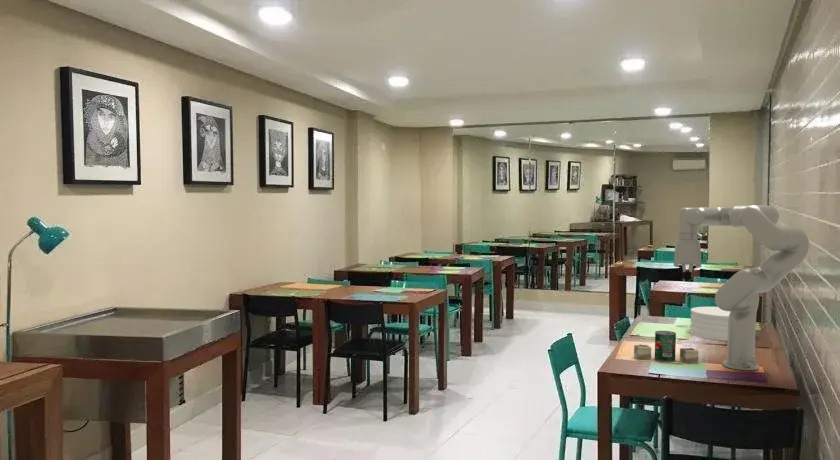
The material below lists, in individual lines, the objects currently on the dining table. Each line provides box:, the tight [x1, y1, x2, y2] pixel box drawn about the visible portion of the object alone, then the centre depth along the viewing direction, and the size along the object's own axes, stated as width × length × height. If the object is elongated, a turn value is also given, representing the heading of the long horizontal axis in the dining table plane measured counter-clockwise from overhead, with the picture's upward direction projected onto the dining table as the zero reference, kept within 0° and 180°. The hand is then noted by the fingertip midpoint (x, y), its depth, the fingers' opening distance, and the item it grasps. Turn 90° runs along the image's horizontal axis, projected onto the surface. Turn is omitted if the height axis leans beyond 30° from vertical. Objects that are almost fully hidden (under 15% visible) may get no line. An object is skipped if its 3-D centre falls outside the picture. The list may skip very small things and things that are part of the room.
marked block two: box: [633, 344, 652, 361], centre depth 264 cm, size 5×5×5 cm
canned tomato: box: [654, 330, 677, 363], centre depth 262 cm, size 8×8×11 cm
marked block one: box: [679, 347, 700, 364], centre depth 259 cm, size 5×5×5 cm
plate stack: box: [689, 306, 730, 342], centre depth 313 cm, size 28×28×12 cm
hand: (686, 281), depth 272 cm, fingers closed
